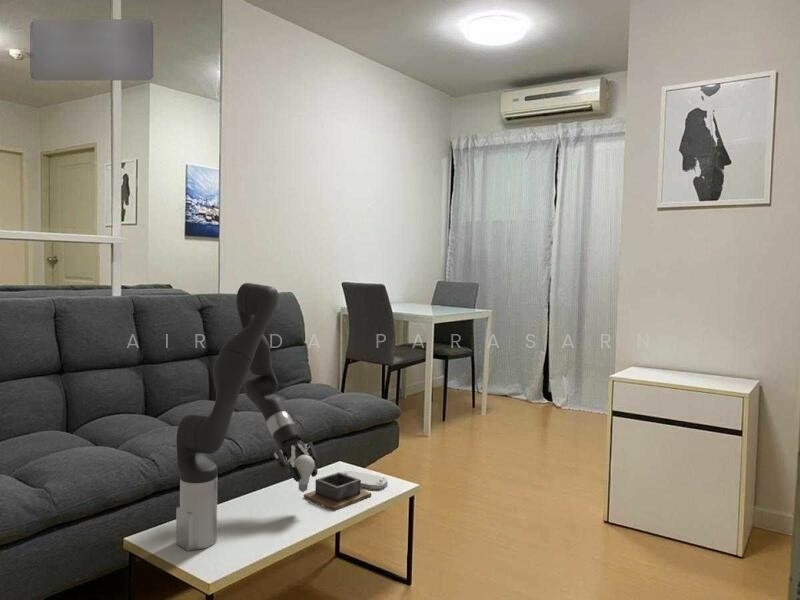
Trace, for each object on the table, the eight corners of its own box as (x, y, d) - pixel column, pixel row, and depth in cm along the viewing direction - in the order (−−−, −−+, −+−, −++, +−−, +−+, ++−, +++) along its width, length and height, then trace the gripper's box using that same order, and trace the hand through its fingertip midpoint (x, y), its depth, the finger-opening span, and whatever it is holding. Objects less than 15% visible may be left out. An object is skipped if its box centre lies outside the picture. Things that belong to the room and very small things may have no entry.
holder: (334, 510, 182) (334, 492, 182) (303, 497, 191) (304, 480, 191) (371, 496, 194) (371, 479, 194) (340, 484, 203) (341, 468, 203)
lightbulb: (288, 492, 180) (290, 455, 180) (300, 486, 186) (302, 451, 185) (305, 497, 177) (307, 459, 177) (317, 491, 183) (319, 454, 182)
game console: (391, 477, 206) (380, 485, 198) (390, 484, 206) (379, 492, 198) (344, 468, 213) (332, 475, 206) (344, 475, 213) (332, 482, 206)
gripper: (269, 426, 180) (294, 476, 173) (307, 419, 191) (331, 465, 184) (258, 440, 184) (281, 490, 176) (295, 432, 195) (319, 478, 187)
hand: (307, 477), depth 180 cm, fingers closed on lightbulb, 5 cm apart
